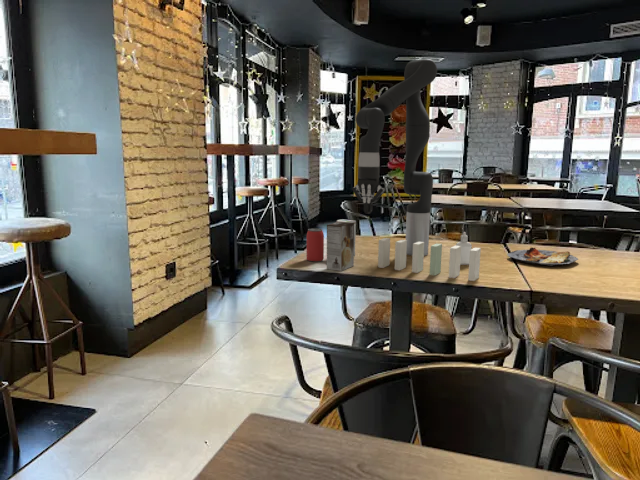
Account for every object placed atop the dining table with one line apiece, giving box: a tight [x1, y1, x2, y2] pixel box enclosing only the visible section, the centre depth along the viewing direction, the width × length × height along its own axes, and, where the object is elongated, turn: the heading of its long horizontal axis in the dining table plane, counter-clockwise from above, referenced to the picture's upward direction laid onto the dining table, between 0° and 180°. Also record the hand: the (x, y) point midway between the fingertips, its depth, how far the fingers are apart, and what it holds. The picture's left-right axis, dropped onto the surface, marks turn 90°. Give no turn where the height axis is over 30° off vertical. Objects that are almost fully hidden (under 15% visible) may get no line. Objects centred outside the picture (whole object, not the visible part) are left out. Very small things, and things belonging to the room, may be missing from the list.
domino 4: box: [448, 244, 461, 279], centre depth 164 cm, size 6×2×10 cm, turn 148°
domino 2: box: [394, 239, 407, 271], centre depth 175 cm, size 6×2×10 cm, turn 148°
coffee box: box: [326, 221, 355, 272], centre depth 175 cm, size 9×6×16 cm
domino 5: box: [467, 247, 482, 282], centre depth 161 cm, size 6×2×10 cm, turn 148°
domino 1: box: [377, 237, 391, 269], centre depth 178 cm, size 6×2×10 cm, turn 148°
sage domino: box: [429, 243, 443, 276], centre depth 168 cm, size 6×2×10 cm, turn 147°
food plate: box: [507, 247, 579, 267], centre depth 190 cm, size 25×23×4 cm
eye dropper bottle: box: [455, 231, 473, 266], centre depth 182 cm, size 4×6×12 cm
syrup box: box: [336, 218, 357, 257], centre depth 194 cm, size 6×6×14 cm
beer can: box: [306, 227, 325, 263], centre depth 187 cm, size 7×7×12 cm
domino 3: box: [411, 242, 425, 274], centre depth 171 cm, size 6×2×10 cm, turn 148°
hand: (367, 213), depth 179 cm, fingers closed
